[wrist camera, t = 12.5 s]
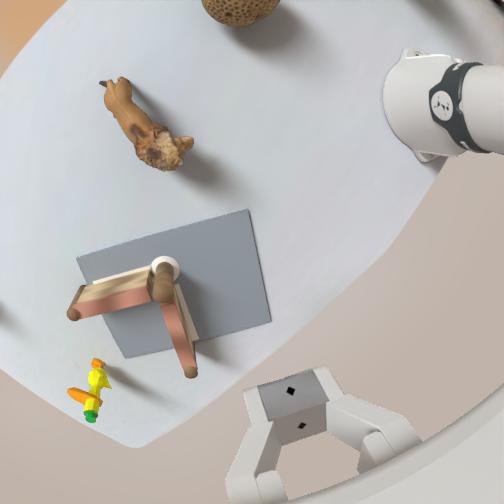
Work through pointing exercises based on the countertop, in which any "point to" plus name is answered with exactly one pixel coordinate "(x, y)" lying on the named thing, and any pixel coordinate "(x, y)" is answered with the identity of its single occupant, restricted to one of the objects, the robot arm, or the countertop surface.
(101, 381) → the toy figure
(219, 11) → the natural sponge
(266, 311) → the board
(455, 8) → the countertop surface
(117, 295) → the fence section
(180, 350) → the fence panel
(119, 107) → the lion figurine
